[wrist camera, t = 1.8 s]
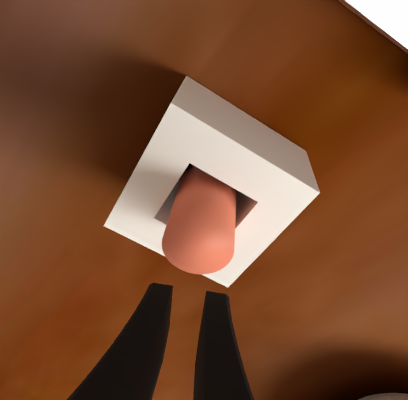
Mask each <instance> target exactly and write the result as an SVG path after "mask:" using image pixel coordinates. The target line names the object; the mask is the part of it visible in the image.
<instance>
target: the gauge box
mask: <svg viewBox="0 0 408 400" xmlns="http://www.w3.org/2000/svg"><path fill="white" fill-rule="evenodd" d="M189 163H190V164H192V165H194V166H196V167H197V168H199V169H201V170H203V171H204V172H206V173H208V174H210V175H211V176H213V177H215V178H217V179H218V180H220V181H222V182H224V183H225V184H227V185H229V186H231V187H232V188H234V189H236V190H237V196H236V220H235V244H234V255H233V258H232V259H231V261H230V262H229V264H228V265H227V266H226V267H224V268H223V269H221V270H219V271H217V272H214V273H210V274H202V275H204V276H206V277H208V278H210V279H212V280H214V281H216V282H218V283H220V284H222V285H224V286H226V287H229V286H230V285H231V284H232V283H233V282H234V281H235V280H236V279H237V278H238V277H239V276H240V275H241V273H242V272H243V271H244V270H245V269H246V268H247V267H248V266H249V265H250V264H251V263H252V262H253V261H254V260H255V259H256V258H257V257H258V256H259V255H260V254H261V253H262V252H263V251H264V250H265V249H266V248H267V247H268V246H269V245H270V244H271V243H272V242H273V241H274V240H275V239H276V237H277V236H278V235H279V234H280V233H281V232H282V231H283V230H284V229H285V228H286V227H287V226H288V225H289V224H290V223H291V222H292V221H293V220H294V219H295V218H296V217H297V216H298V215H299V214H300V213H301V212H302V211H303V210H304V209H305V208H306V207H307V206H308V205H309V204H310V202H311V201H312V200H313V199H314V198H315V197H316V196H317V195H318V194H319V193H320V192H319V189H318V186H317V183H316V180H315V177H314V174H313V171H312V168H311V165H310V162H309V159H308V156H307V153H306V151H305V150H304V149H302V148H301V147H299V146H297V145H296V144H294V143H293V142H291V141H289V140H288V139H286V138H285V137H283V136H282V135H280V134H278V133H277V132H275V131H274V130H272V129H270V128H269V127H267V126H266V125H264V124H262V123H261V122H259V121H258V120H256V119H255V118H253V117H251V116H250V115H248V114H247V113H245V112H243V111H242V110H240V109H239V108H237V107H235V106H234V105H232V104H231V103H229V102H228V101H226V100H224V99H223V98H221V97H220V96H218V95H216V94H215V93H213V92H212V91H210V90H208V89H207V88H205V87H204V86H202V85H201V84H199V83H197V82H196V81H194V80H193V79H191V78H189V77H188V76H186V77H185V79H184V81H183V82H182V84H181V86H180V88H179V89H178V91H177V93H176V95H175V96H174V98H173V100H172V102H171V103H170V105H169V107H168V109H167V111H166V113H165V114H164V116H163V118H162V120H161V122H160V124H159V125H158V127H157V129H156V131H155V133H154V135H153V137H152V138H151V140H150V142H149V144H148V146H147V148H146V149H145V151H144V153H143V155H142V157H141V159H140V160H139V162H138V164H137V166H136V168H135V170H134V171H133V173H132V175H131V177H130V179H129V181H128V182H127V184H126V186H125V188H124V190H123V192H122V193H121V195H120V197H119V199H118V201H117V203H116V204H115V206H114V208H113V210H112V212H111V214H110V215H109V217H108V219H107V221H106V223H105V225H104V226H105V227H107V228H109V229H111V230H113V231H115V232H117V233H119V234H121V235H123V236H125V237H127V238H129V239H131V240H133V241H135V242H137V243H139V244H141V245H143V246H145V247H147V248H149V249H151V250H153V251H155V252H157V253H159V254H161V255H163V256H165V255H164V253H163V250H162V238H163V235H164V231H165V228H166V225H167V222H168V219H169V215H170V212H171V209H172V206H173V203H174V199H175V196H176V193H177V190H178V186H179V183H180V181H179V178H180V177H181V175H182V174H183V172H184V171H185V169H186V168H187V166H188V165H189ZM165 257H166V256H165Z"/></svg>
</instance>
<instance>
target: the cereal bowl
mask: <svg viewBox="0 0 408 400" xmlns="http://www.w3.org/2000/svg"><path fill="white" fill-rule="evenodd" d="M358 400H408V394H404V393H381V394H374V395H370V396H366V397H363V398H361V399H358Z"/></svg>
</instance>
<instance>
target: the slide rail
mask: <svg viewBox="0 0 408 400" xmlns="http://www.w3.org/2000/svg"><path fill="white" fill-rule="evenodd" d="M338 1H339V2H340V3H341V4H343V5H344V6H345V7H347V8H348V9H349V10H351V11H352V12H353V13H355V14H356V15H357V16H359V17H360V18H361V19H362V20H364V21H365V22H366V23H368V24H369V25H370V26H372V27H373V28H374V29H376V30H377V31H378V32H379V33H381V34H382V35H383V36H385V37H386V38H387V39H389V40H390V41H391V42H393V43H394V44H395V45H397V46H398V47H399V48H400V49H402V50H403V51H404V52H406V53H407V54H408V0H338Z"/></svg>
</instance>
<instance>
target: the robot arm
mask: <svg viewBox="0 0 408 400" xmlns="http://www.w3.org/2000/svg"><path fill="white" fill-rule="evenodd" d="M172 289H173V286H170V285H163V284H157V283H152V284H150V285H149V287H148V289H147V291H146V293H145V295H144V297H143V298H142V300H141V302H140V304H139V305H138V307H137V309H136V310H135V312H134V313H133V315H132V316H131V318H130V320H129V321H128V323H127V324H126V325H125V327H124V328H123V330H122V331H121V333H120V334H119V335H118V337H117V338H116V340H115V341H114V343H113V344H112V345H111V347H110V348H109V349H108V350H107V352H106V353H105V354H104V356H103V357H102V358H101V359H100V361H99V362H98V363H97V365H96V366H95V367H94V368H93V370H92V371H91V372H90V373H89V375H88V376H87V377H86V378H85V379H84V381H83V382H82V383H81V384H80V385H79V386H78V388H77V389H76V390H75V391H74V392H73V393H72V394H71V396H70V397H69V398H68V399H67V400H152V396H153V393H154V390H155V386H156V383H157V379H158V376H159V372H160V369H161V365H162V362H163V357H164V352H165V347H166V342H167V337H168V332H169V325H170V313H171V301H172ZM193 400H254V398H253V395H252V392H251V389H250V386H249V383H248V380H247V377H246V374H245V371H244V367H243V364H242V360H241V356H240V353H239V349H238V345H237V341H236V337H235V333H234V328H233V323H232V318H231V311H230V303H229V297H228V296H227V294H222V293H216V292H209V291H206V296H205V302H204V308H203V314H202V320H201V326H200V333H199V340H198V347H197V355H196V362H195V378H194V399H193Z"/></svg>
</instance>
